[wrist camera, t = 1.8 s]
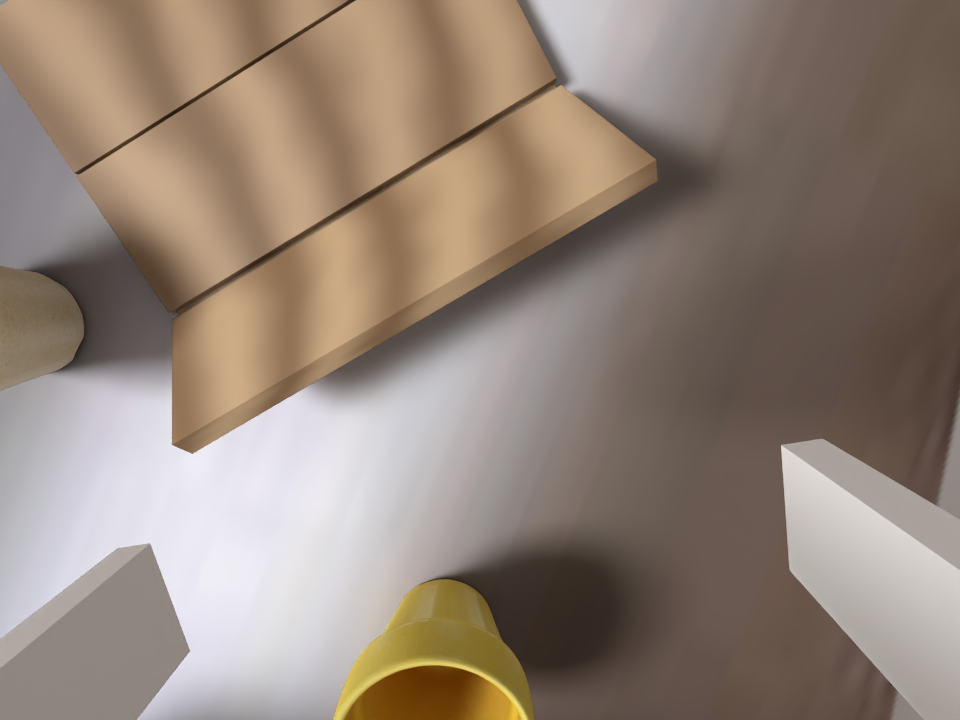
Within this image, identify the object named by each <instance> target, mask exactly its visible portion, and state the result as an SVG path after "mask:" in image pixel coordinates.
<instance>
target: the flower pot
mask: <svg viewBox="0 0 960 720" xmlns="http://www.w3.org/2000/svg"><path fill="white" fill-rule="evenodd" d="M83 337H84V321H83V316H82V313H81V310H80V308H79V306H78V304H77V302H76V301H75V299H74V297H73V296H72V295H71V293H70V292H69V291H68V290H67V289H66V288H65V287H63V286H62V285H60V284H58V283H57V282H55V281H53V280H52V279H50V278H48V277H46V276H44V275H42V274H40V273H36V272H31V271H24V270H19V269H14V268H9V267H3V266H0V391H1V390H4V389H6V388H9V387H12V386H14V385H17V384H20V383H22V382H25V381H28V380H31V379H34V378H37V377H40V376H42V375H45V374H49V373H52V372H55V371H57V370H59V369H61V368H63V367H64V366H66V365H67V364H68V363H70V362H71V361H72V360H73V358H74V355H75V353H76V351H77V349H78V347H79V345H80V343H81V341H82V339H83Z"/></svg>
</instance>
